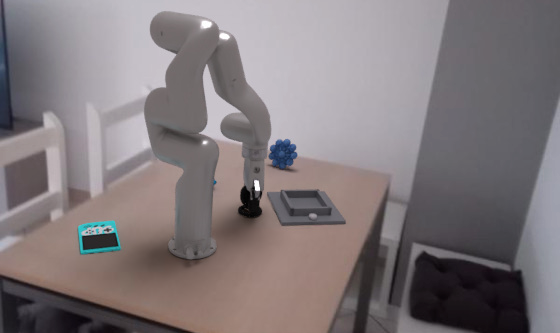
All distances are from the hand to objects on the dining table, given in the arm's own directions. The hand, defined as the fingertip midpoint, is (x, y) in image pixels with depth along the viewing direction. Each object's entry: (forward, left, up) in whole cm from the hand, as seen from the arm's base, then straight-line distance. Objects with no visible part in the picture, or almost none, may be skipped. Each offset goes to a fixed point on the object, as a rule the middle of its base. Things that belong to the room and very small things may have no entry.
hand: (250, 204), depth 165 cm
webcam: (0, 0, -3) cm, 3 cm away
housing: (+2, -18, -3) cm, 18 cm away
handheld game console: (-13, +43, -4) cm, 45 cm away
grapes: (+37, -19, -3) cm, 42 cm away
